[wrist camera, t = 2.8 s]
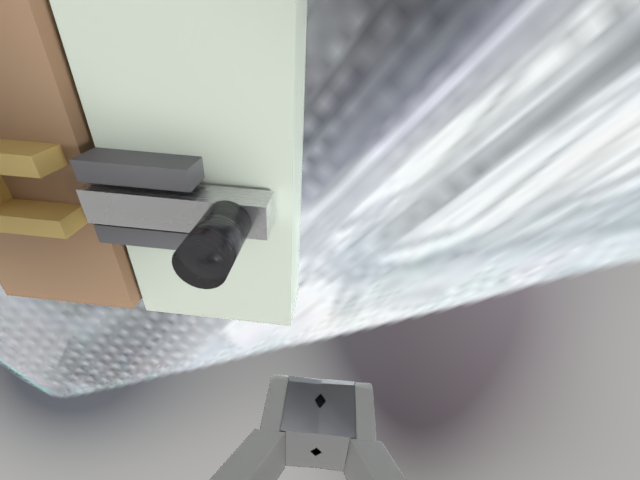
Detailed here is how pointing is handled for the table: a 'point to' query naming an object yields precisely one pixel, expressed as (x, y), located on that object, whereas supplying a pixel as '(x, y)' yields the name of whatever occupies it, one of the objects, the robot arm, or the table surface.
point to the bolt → (188, 222)
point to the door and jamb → (148, 144)
